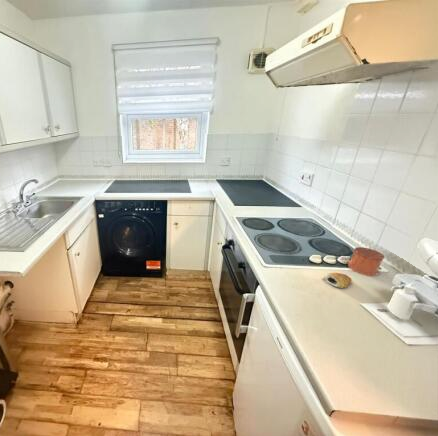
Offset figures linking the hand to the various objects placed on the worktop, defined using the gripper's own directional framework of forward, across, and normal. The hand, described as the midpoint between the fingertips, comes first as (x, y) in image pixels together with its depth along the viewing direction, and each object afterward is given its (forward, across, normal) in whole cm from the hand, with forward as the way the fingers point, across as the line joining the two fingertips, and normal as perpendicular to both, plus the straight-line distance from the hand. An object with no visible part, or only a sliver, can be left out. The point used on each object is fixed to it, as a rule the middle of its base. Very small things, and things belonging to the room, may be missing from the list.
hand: (402, 296), depth 74 cm
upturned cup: (-10, +28, -8) cm, 31 cm away
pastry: (+7, +17, -8) cm, 20 cm away
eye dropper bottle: (-1, 0, -7) cm, 7 cm away
